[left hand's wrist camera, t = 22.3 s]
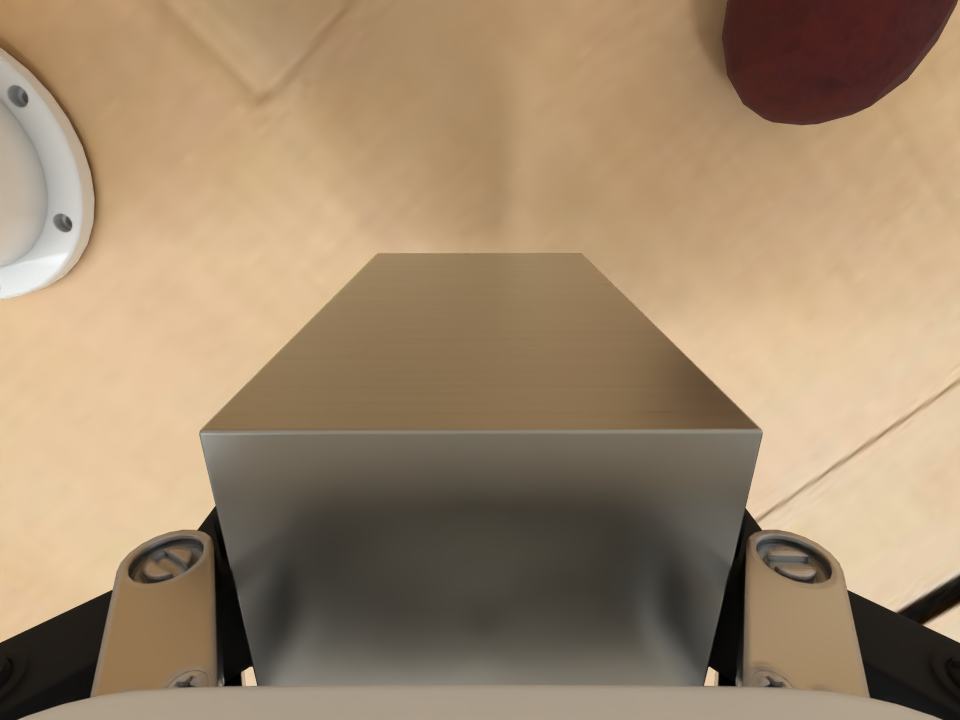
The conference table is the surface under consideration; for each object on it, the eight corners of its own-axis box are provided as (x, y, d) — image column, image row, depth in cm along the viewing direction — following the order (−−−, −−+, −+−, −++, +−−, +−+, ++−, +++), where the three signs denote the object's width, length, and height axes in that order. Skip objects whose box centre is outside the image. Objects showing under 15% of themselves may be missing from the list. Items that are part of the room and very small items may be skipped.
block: (390, 439, 20) (280, 796, 9) (376, 253, 17) (197, 431, 6) (568, 439, 20) (679, 794, 9) (582, 252, 17) (765, 430, 6)
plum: (903, -37, 22) (1082, -118, 15) (806, 151, 25) (923, 150, 18) (748, -104, 21) (867, -219, 15) (665, 98, 24) (734, 77, 17)
